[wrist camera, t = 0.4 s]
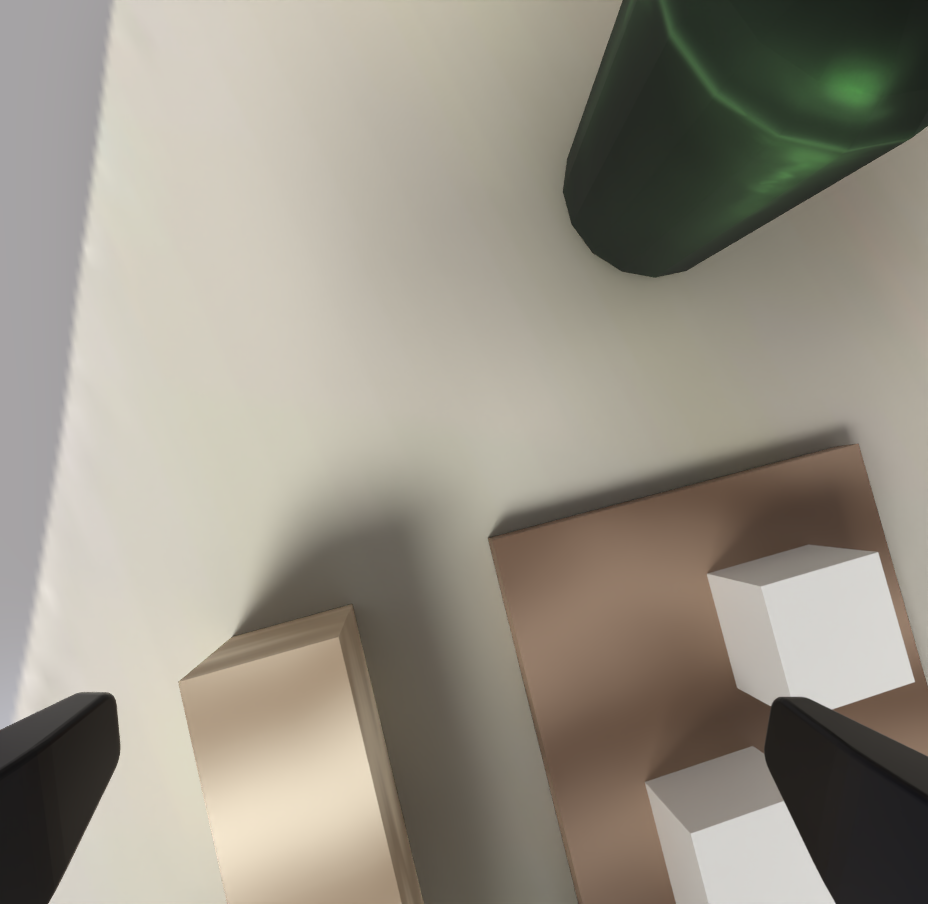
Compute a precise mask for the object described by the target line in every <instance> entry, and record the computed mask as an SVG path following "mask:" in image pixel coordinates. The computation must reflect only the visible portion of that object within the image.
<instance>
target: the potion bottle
mask: <svg viewBox="0 0 928 904" xmlns="http://www.w3.org/2000/svg"><path fill="white" fill-rule="evenodd" d="M927 126H928V0H623V1H622V4H621V7H620V10H619V13H618V16H617V19H616V21H615V24H614V27H613V30H612V33H611V36H610V39H609V41H608V44H607V47H606V50H605V53H604V56H603V59H602V61H601V64H600V67H599V70H598V73H597V76H596V79H595V81H594V84H593V87H592V90H591V93H590V96H589V98H588V101H587V104H586V107H585V110H584V113H583V116H582V118H581V121H580V124H579V127H578V130H577V133H576V136H575V138H574V141H573V144H572V147H571V150H570V153H569V156H568V158H567V165H566V172H565V180H564V188H563V194H564V197H565V201H566V205H567V208H568V212H569V216H570V219H571V223H572V225H573V227H574V228H575V229H576V231H577V232H578V234H579V235H580V236H581V238H582V239H583V240H584V242H585V243H586V244H587V246H588V247H589V248H590V250H591V251H592V252H593V253H594V254H596V255H597V256H599V257H600V258H602V259H603V260H605V261H607V262H608V263H610V264H611V265H613V266H614V267H616V268H618V269H619V270H621V271H623V272H628V273H634V274H639V275H644V276H649V277H660V276H664V275H669V274H673V273H678V272H683V271H687V270H688V269H690V268H692V267H693V266H695V265H697V264H698V263H700V262H702V261H704V260H705V259H707V258H709V257H710V256H712V255H714V254H715V253H717V252H719V251H721V250H722V249H724V248H726V247H727V246H729V245H731V244H732V243H734V242H736V241H738V240H739V239H741V238H743V237H744V236H746V235H748V234H749V233H751V232H753V231H754V230H756V229H758V228H760V227H761V226H763V225H765V224H766V223H768V222H770V221H771V220H773V219H775V218H777V217H778V216H780V215H782V214H783V213H785V212H787V211H788V210H790V209H792V208H794V207H795V206H797V205H799V204H800V203H802V202H804V201H805V200H807V199H809V198H811V197H812V196H814V195H816V194H817V193H819V192H821V191H822V190H824V189H826V188H827V187H829V186H831V185H833V184H834V183H836V182H838V181H839V180H841V179H843V178H844V177H846V176H848V175H850V174H851V173H853V172H855V171H856V170H858V169H860V168H861V167H863V166H865V165H867V164H868V163H870V162H872V161H873V160H875V159H877V158H878V157H880V156H882V155H884V154H885V153H887V152H889V151H890V150H892V149H894V148H895V147H897V146H899V145H900V144H902V143H904V142H906V141H907V140H909V139H911V138H912V137H914V136H915V135H916V134H918V133H919V132H920V131H922V130H923V129H924V128H926V127H927Z"/></svg>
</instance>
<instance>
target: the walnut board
mask: <svg viewBox="0 0 928 904" xmlns="http://www.w3.org/2000/svg"><path fill="white" fill-rule="evenodd" d="M488 541H489V545H490V549H491V553H492V557H493V561H494V565H495V569H496V573H497V577H498V581H499V585H500V589H501V593H502V597H503V601H504V605H505V609H506V613H507V617H508V621H509V625H510V629H511V633H512V637H513V641H514V645H515V649H516V654H517V658H518V662H519V666H520V670H521V674H522V678H523V682H524V686H525V690H526V694H527V698H528V702H529V706H530V710H531V714H532V718H533V722H534V726H535V730H536V734H537V738H538V742H539V746H540V750H541V754H542V758H543V762H544V766H545V770H546V775H547V779H548V783H549V787H550V791H551V795H552V799H553V803H554V807H555V811H556V815H557V819H558V823H559V827H560V831H561V835H562V839H563V843H564V847H565V851H566V855H567V859H568V863H569V867H570V871H571V875H572V879H573V883H574V887H575V892H576V896H577V900H578V904H676V902H675V898H674V894H673V890H672V886H671V882H670V878H669V874H668V871H667V867H666V863H665V859H664V855H663V851H662V847H661V843H660V839H659V835H658V832H657V828H656V824H655V820H654V816H653V812H652V808H651V804H650V800H649V797H648V793H647V789H646V785H645V782H646V781H649V780H652V779H655V778H658V777H661V776H664V775H667V774H670V773H673V772H676V771H679V770H682V769H685V768H688V767H691V766H694V765H697V764H700V763H703V762H706V761H709V760H712V759H715V758H718V757H721V756H724V755H727V754H730V753H733V752H736V751H739V750H742V749H745V748H748V747H751V746H753V747H755V748H756V749H758V750H759V751H761V752H762V753H764V744H765V738H766V733H767V727H768V721H769V715H770V709H771V706H769V705H767V704H766V703H764V702H762V701H760V700H758V699H756V698H755V697H753V696H751V695H749V694H747V693H745V692H744V691H742V690H740V689H738V688H737V686H736V682H735V678H734V674H733V671H732V667H731V663H730V659H729V656H728V652H727V648H726V644H725V641H724V637H723V633H722V629H721V626H720V622H719V618H718V614H717V611H716V607H715V603H714V599H713V596H712V592H711V588H710V584H709V581H708V577H707V574H708V573H711V572H714V571H718V570H721V569H725V568H728V567H732V566H735V565H739V564H742V563H746V562H749V561H753V560H756V559H760V558H763V557H767V556H770V555H774V554H777V553H781V552H784V551H788V550H791V549H795V548H798V547H802V546H805V545H817V546H826V547H835V548H845V549H854V550H863V551H873V552H878V553H879V557H880V560H881V564H882V567H883V571H884V574H885V578H886V581H887V585H888V588H889V592H890V595H891V599H892V603H893V606H894V610H895V613H896V617H897V620H898V624H899V627H900V631H901V634H902V638H903V641H904V645H905V648H906V652H907V655H908V659H909V662H910V666H911V669H912V673H913V677H914V680H915V682H914V683H911V684H908V685H904V686H901V687H898V688H895V689H892V690H889V691H886V692H883V693H880V694H877V695H874V696H871V697H868V698H865V699H862V700H859V701H856V702H853V703H850V704H847V705H844V706H841V707H838V708H835V709H832V710H834V711H836V712H838V713H840V714H842V715H844V716H846V717H848V718H850V719H852V720H854V721H856V722H858V723H860V724H862V725H865V726H867V727H869V728H871V729H873V730H875V731H877V732H879V733H881V734H883V735H885V736H887V737H889V738H891V739H893V740H895V741H897V742H899V743H902V744H904V745H906V746H908V747H910V748H912V749H914V750H916V751H918V752H920V753H922V754H924V755H926V756H928V686H927V683H926V679H925V676H924V672H923V669H922V665H921V661H920V658H919V654H918V651H917V647H916V644H915V640H914V637H913V633H912V630H911V626H910V623H909V619H908V616H907V612H906V609H905V605H904V602H903V598H902V595H901V591H900V588H899V584H898V581H897V577H896V574H895V570H894V567H893V563H892V560H891V556H890V553H889V549H888V546H887V542H886V539H885V535H884V532H883V528H882V524H881V521H880V517H879V514H878V510H877V507H876V503H875V500H874V496H873V493H872V489H871V486H870V482H869V479H868V475H867V472H866V468H865V465H864V461H863V458H862V454H861V451H860V447H859V444H852V445H844V446H837V447H833V448H829V449H826V450H822V451H818V452H814V453H810V454H806V455H803V456H799V457H795V458H791V459H787V460H784V461H780V462H776V463H772V464H768V465H765V466H761V467H757V468H753V469H749V470H746V471H742V472H738V473H734V474H730V475H726V476H723V477H719V478H715V479H711V480H707V481H704V482H700V483H696V484H692V485H688V486H685V487H681V488H677V489H673V490H669V491H666V492H662V493H658V494H654V495H650V496H646V497H643V498H639V499H635V500H631V501H627V502H624V503H620V504H616V505H612V506H608V507H605V508H601V509H597V510H593V511H589V512H586V513H582V514H578V515H574V516H570V517H566V518H563V519H559V520H555V521H551V522H547V523H544V524H540V525H536V526H532V527H528V528H525V529H521V530H517V531H513V532H509V533H506V534H502V535H498V536H494V537H490V538H488Z"/></svg>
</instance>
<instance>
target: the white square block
mask: <svg viewBox="0 0 928 904" xmlns="http://www.w3.org/2000/svg"><path fill="white" fill-rule="evenodd" d="M707 577H708V581H709V584H710V588H711V592H712V596H713V599H714V603H715V607H716V611H717V614H718V618H719V622H720V626H721V629H722V633H723V637H724V641H725V644H726V648H727V652H728V656H729V659H730V663H731V667H732V671H733V674H734V678H735V682H736V686H737V688H738V689H740V690H742V691H744V692H745V693H747V694H749V695H751V696H753V697H755V698H756V699H758V700H760V701H762V702H764V703H766V704H767V705H769V706H771V705H772V703H773V701H774V700H775V699H776V698H778V697H806V698H809V699H811V700H813V701H815V702H817V703H819V704H821V705H823V706H825V707H828V708H830V709H835V708H838V707H841V706H844V705H847V704H850V703H853V702H856V701H859V700H862V699H865V698H868V697H871V696H874V695H877V694H880V693H883V692H886V691H889V690H892V689H895V688H898V687H901V686H904V685H908V684H911V683H914V682H915V680H914V677H913V673H912V669H911V666H910V662H909V659H908V655H907V652H906V648H905V645H904V641H903V638H902V634H901V631H900V627H899V624H898V620H897V617H896V613H895V610H894V606H893V603H892V599H891V595H890V592H889V588H888V585H887V581H886V578H885V574H884V571H883V567H882V564H881V560H880V557H879V553H878V552H873V551H863V550H854V549H845V548H835V547H826V546H817V545H805V546H802V547H798V548H795V549H791V550H788V551H784V552H781V553H777V554H774V555H770V556H767V557H763V558H760V559H756V560H753V561H749V562H746V563H742V564H739V565H735V566H732V567H728V568H725V569H721V570H718V571H714V572H711V573H708V574H707Z"/></svg>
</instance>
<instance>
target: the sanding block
mask: <svg viewBox="0 0 928 904" xmlns="http://www.w3.org/2000/svg"><path fill="white" fill-rule="evenodd" d="M178 683H179V688H180V692H181V697H182V701H183V706H184V710H185V715H186V719H187V724H188V729H189V733H190V738H191V742H192V747H193V751H194V756H195V760H196V765H197V769H198V774H199V778H200V783H201V787H202V792H203V796H204V801H205V805H206V810H207V814H208V819H209V823H210V828H211V832H212V837H213V842H214V846H215V851H216V855H217V860H218V864H219V869H220V873H221V878H222V882H223V887H224V891H225V896H226V900H227V904H424V902H423V898H422V894H421V890H420V885H419V881H418V877H417V873H416V869H415V865H414V860H413V856H412V852H411V848H410V844H409V839H408V835H407V831H406V827H405V823H404V818H403V814H402V810H401V806H400V802H399V798H398V793H397V789H396V785H395V781H394V777H393V772H392V768H391V764H390V760H389V756H388V752H387V747H386V743H385V739H384V735H383V731H382V726H381V722H380V718H379V714H378V710H377V705H376V701H375V697H374V693H373V689H372V685H371V680H370V676H369V672H368V668H367V664H366V659H365V655H364V651H363V647H362V643H361V639H360V634H359V630H358V626H357V622H356V618H355V613H354V609H353V605H352V604H350V605H346V606H343V607H339V608H336V609H332V610H328V611H325V612H321V613H317V614H314V615H310V616H306V617H303V618H299V619H295V620H292V621H288V622H285V623H281V624H277V625H274V626H270V627H266V628H263V629H259V630H255V631H252V632H248V633H245V634H241V635H237V636H234V637H231V638H230V639H229V640H228V641H227V642H225V643H224V644H223V645H222V646H221V647H220V648H218V649H217V650H216V651H215V652H214V653H212V654H211V655H210V656H209V657H208V658H206V659H205V660H204V661H203V662H202V663H200V664H199V665H198V666H197V667H196V668H194V669H193V670H192V671H191V672H190V673H188V674H187V675H186V676H185V677H184V678H182V679H181V680H180V681H179V682H178Z"/></svg>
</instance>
